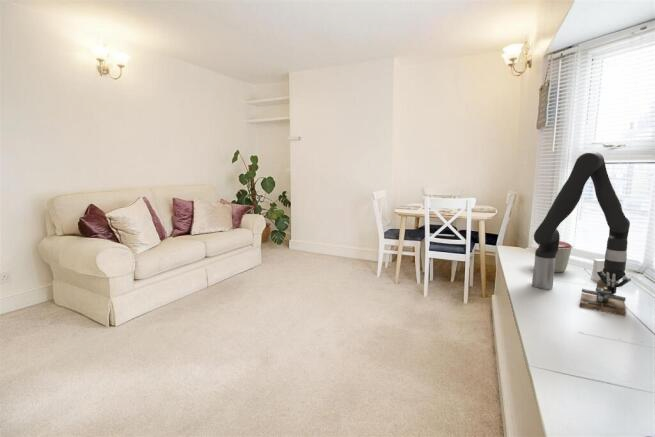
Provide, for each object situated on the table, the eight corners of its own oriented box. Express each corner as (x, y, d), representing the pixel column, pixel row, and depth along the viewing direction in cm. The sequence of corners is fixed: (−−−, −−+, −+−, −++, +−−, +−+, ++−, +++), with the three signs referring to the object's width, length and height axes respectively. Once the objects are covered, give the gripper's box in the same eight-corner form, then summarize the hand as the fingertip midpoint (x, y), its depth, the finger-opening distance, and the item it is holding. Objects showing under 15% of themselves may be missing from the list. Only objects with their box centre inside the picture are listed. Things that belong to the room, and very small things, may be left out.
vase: (616, 295, 162) (618, 279, 160) (600, 295, 163) (602, 278, 162) (607, 290, 168) (609, 274, 167) (592, 289, 170) (594, 274, 168)
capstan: (622, 311, 140) (624, 298, 139) (578, 301, 152) (579, 289, 150) (626, 299, 151) (628, 287, 150) (585, 291, 163) (586, 279, 162)
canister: (568, 268, 205) (572, 235, 201) (571, 276, 190) (575, 242, 186) (535, 264, 214) (537, 233, 211) (535, 271, 199) (538, 239, 196)
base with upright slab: (604, 277, 187) (606, 257, 185) (616, 282, 178) (618, 262, 176) (587, 277, 188) (589, 257, 186) (598, 282, 179) (601, 262, 177)
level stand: (579, 306, 151) (580, 301, 151) (581, 296, 162) (581, 291, 161) (625, 315, 141) (626, 310, 141) (623, 304, 151) (624, 299, 151)
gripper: (594, 256, 154) (590, 290, 157) (627, 263, 142) (622, 300, 145) (604, 254, 157) (600, 287, 160) (637, 261, 145) (633, 297, 147)
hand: (611, 293), depth 152 cm, fingers closed
